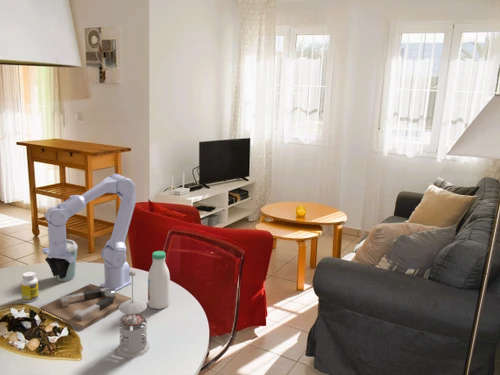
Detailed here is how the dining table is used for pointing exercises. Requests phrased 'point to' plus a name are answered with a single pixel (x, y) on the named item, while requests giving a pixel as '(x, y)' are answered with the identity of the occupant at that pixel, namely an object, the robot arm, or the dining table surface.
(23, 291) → the supplement bottle
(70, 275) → the disposable coffee cup
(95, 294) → the tongs arm
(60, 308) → the cutting board
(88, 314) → the tongs fixed arm
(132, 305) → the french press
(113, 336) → the dining table surface
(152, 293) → the milk bottle
